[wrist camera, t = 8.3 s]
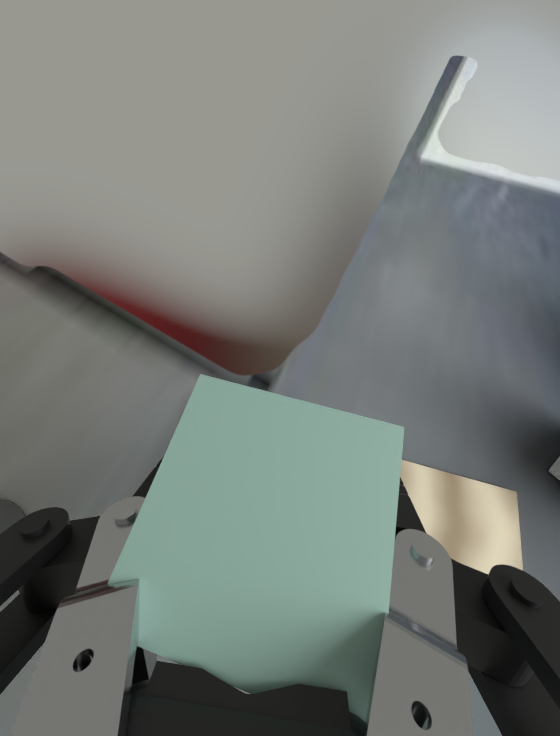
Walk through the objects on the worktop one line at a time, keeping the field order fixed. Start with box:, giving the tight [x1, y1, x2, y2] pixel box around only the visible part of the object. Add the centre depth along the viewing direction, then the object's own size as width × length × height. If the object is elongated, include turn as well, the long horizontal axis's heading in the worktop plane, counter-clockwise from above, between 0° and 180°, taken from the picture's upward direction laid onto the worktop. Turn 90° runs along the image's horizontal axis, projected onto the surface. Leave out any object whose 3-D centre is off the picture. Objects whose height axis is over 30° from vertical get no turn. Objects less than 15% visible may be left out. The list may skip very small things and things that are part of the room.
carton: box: [108, 374, 404, 722], centre depth 10 cm, size 5×5×10 cm
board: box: [400, 460, 523, 574], centre depth 26 cm, size 14×14×1 cm
